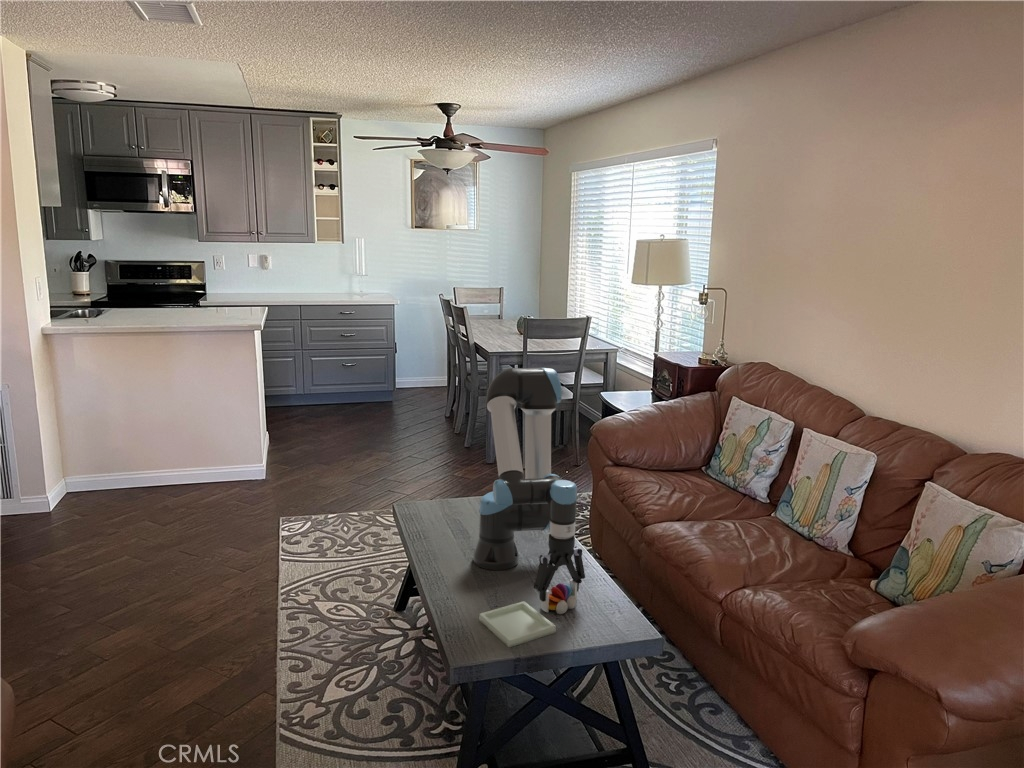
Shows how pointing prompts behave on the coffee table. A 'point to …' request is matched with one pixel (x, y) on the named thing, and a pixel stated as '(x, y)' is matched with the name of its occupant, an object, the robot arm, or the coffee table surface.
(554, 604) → the rainbow lobed toy
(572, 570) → the robot arm
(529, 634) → the tray
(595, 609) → the coffee table surface
